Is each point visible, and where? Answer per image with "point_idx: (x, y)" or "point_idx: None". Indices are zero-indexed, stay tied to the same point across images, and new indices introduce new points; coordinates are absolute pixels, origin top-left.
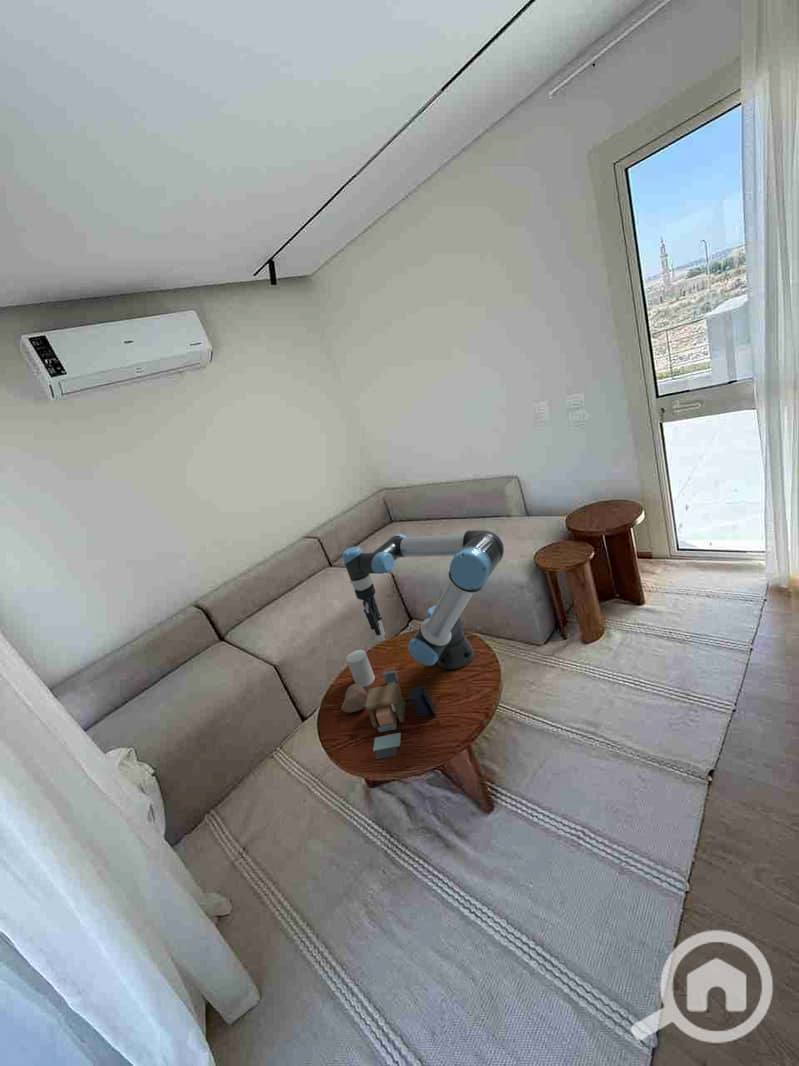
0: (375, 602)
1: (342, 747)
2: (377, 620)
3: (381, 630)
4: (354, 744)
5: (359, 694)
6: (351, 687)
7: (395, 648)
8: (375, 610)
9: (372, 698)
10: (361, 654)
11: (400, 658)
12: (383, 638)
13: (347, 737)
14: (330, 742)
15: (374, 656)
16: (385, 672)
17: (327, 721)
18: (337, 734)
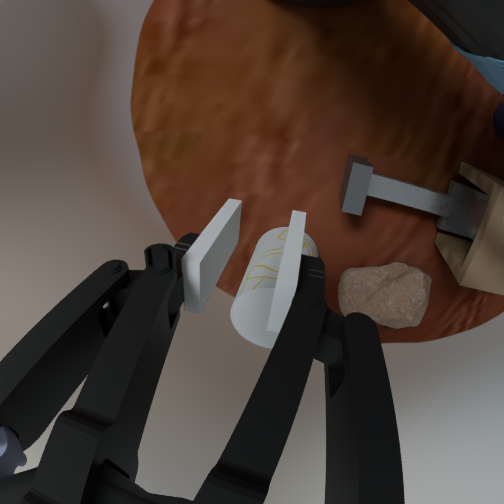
0: (18, 373)
1: (476, 315)
2: (181, 287)
3: (286, 247)
4: (487, 295)
5: (425, 300)
6: (379, 320)
7: (156, 147)
8: (135, 379)
9: (501, 277)
10: (271, 303)
11: (220, 130)
12: (304, 221)
13: (463, 307)
14: (448, 335)
15: (173, 217)
16: (351, 202)
17: (388, 342)
18: (440, 325)
